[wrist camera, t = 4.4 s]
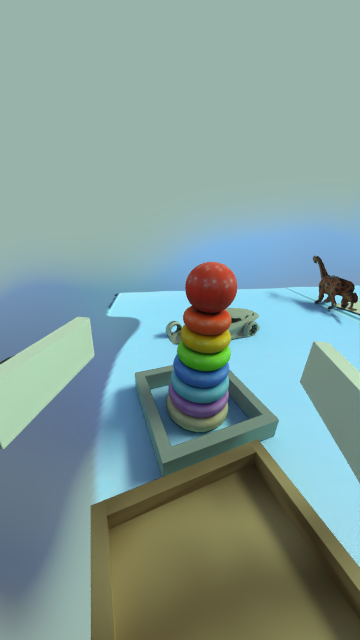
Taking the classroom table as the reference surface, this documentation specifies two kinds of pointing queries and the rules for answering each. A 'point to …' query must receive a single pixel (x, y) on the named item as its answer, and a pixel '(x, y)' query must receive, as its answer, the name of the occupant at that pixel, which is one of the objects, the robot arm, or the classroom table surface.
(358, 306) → the paper stack
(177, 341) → the car model
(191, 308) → the stacking toy
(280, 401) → the classroom table surface
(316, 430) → the classroom table surface
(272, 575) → the walnut tray
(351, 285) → the toy dinosaur
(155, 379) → the socket collar
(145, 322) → the classroom table surface
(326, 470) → the classroom table surface
